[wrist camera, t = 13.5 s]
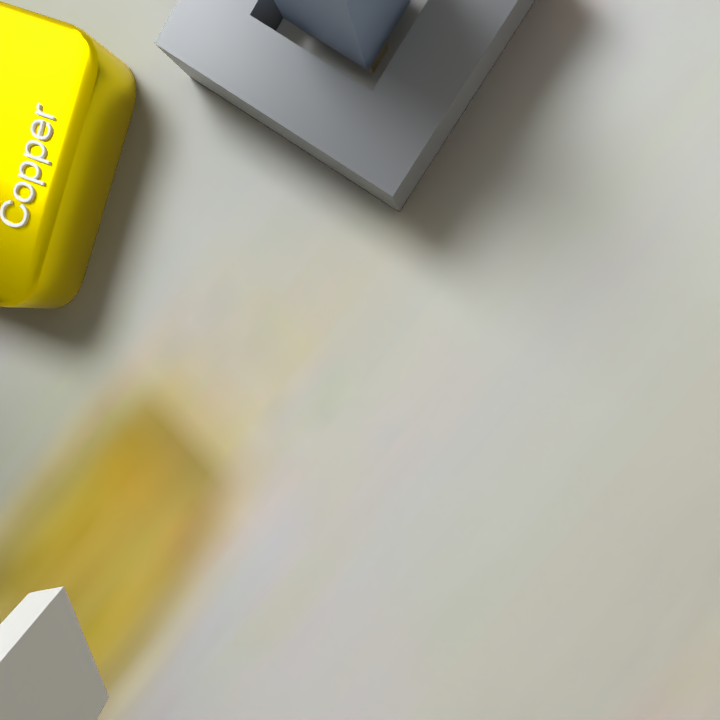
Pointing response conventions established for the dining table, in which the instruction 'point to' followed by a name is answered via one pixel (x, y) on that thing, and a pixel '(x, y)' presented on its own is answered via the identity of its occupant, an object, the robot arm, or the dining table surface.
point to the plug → (348, 25)
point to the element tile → (54, 152)
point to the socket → (348, 80)
